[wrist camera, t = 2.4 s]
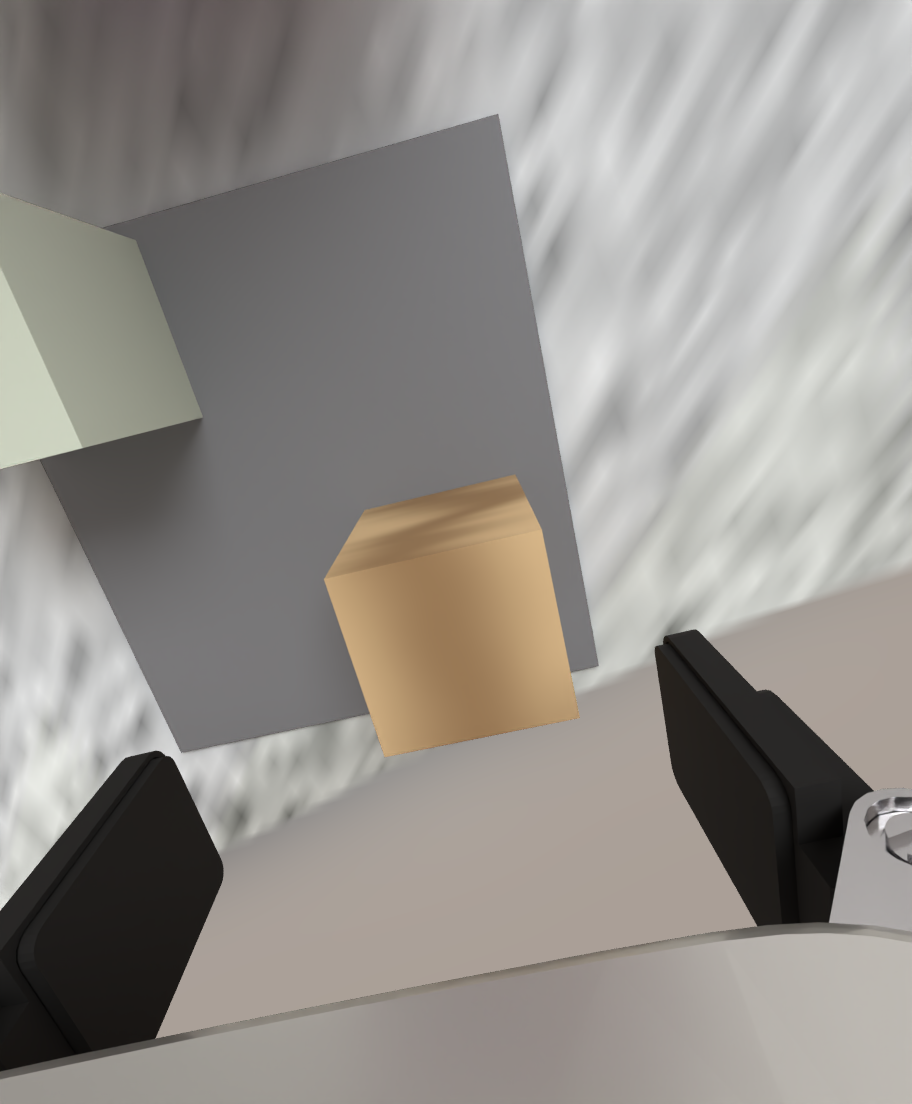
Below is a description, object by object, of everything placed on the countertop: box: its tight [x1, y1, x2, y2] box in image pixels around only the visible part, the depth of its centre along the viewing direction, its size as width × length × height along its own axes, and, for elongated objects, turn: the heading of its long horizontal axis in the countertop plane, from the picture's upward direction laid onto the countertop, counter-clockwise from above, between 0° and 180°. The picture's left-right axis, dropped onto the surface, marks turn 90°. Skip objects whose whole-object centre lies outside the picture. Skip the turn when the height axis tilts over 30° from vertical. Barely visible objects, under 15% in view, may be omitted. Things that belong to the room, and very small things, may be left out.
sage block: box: [0, 193, 203, 469], centre depth 14 cm, size 5×5×6 cm
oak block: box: [324, 475, 580, 757], centre depth 16 cm, size 5×5×6 cm
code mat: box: [40, 114, 599, 753], centre depth 18 cm, size 16×17×1 cm
